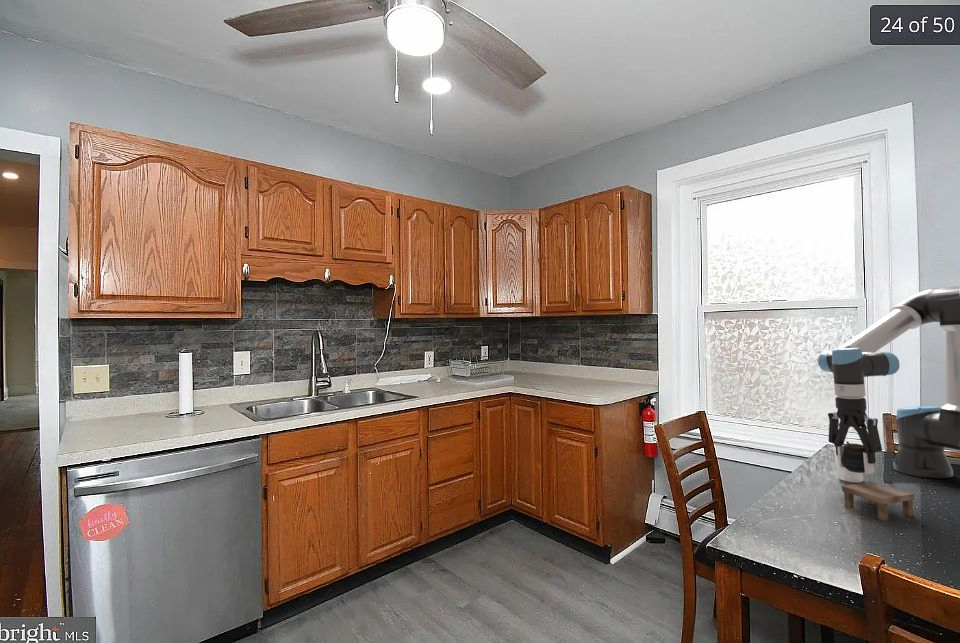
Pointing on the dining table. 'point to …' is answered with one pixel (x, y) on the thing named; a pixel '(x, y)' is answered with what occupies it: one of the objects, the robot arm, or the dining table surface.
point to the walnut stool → (879, 497)
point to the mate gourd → (853, 457)
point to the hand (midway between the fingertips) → (856, 469)
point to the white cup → (847, 473)
